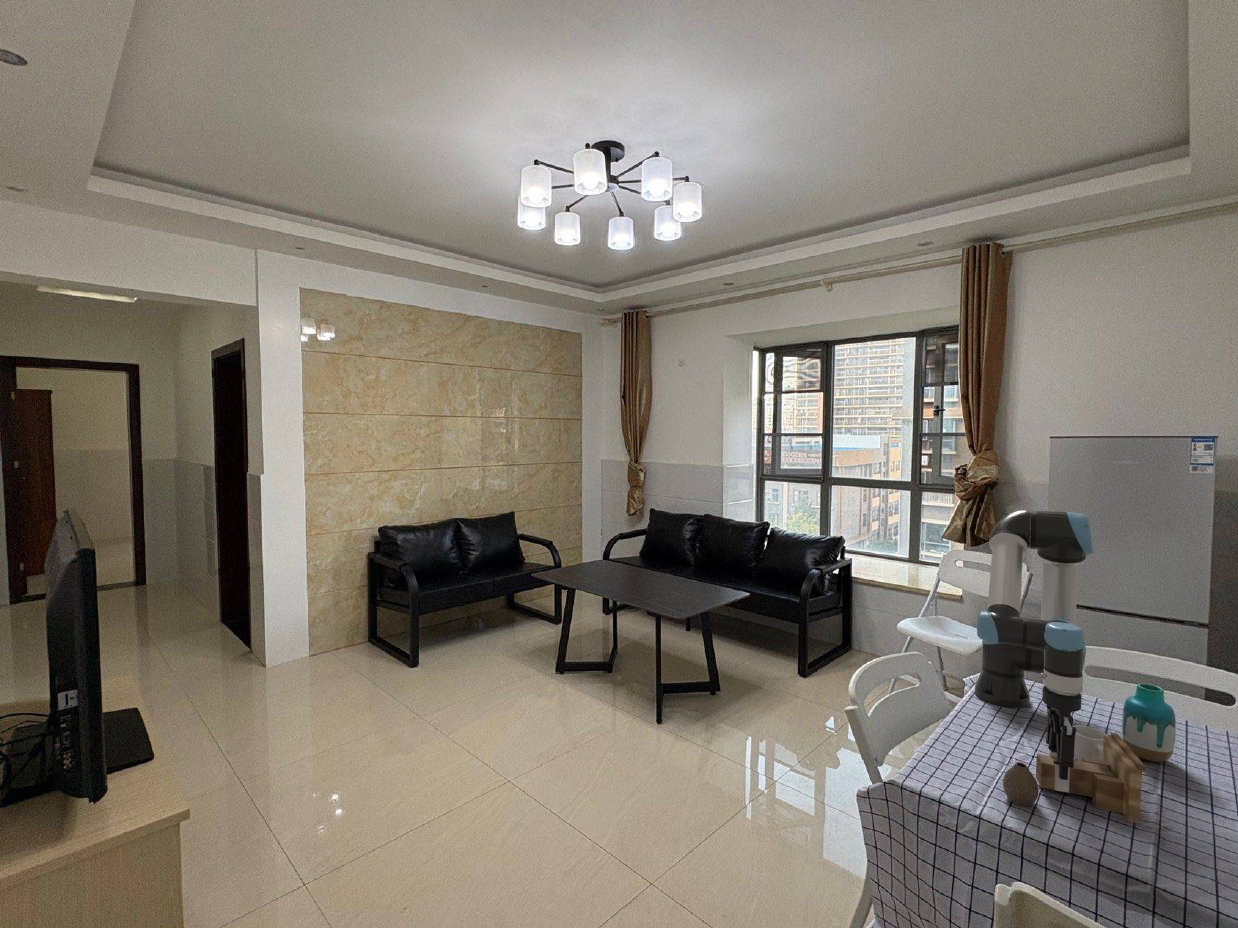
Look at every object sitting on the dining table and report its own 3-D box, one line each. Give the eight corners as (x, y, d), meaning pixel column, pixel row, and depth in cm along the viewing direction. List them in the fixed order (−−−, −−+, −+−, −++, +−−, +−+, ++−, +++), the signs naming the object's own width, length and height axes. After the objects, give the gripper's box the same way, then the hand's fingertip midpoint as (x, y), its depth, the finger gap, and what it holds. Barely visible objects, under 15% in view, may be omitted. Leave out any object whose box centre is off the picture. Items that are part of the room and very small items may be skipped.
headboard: (1077, 778, 150) (1079, 727, 149) (1114, 785, 147) (1117, 733, 147) (1100, 815, 135) (1103, 759, 135) (1143, 824, 132) (1145, 766, 132)
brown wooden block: (1040, 787, 144) (1041, 762, 144) (1035, 777, 148) (1036, 753, 148) (1113, 800, 139) (1114, 775, 139) (1105, 789, 143) (1106, 765, 143)
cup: (1121, 778, 150) (1123, 746, 150) (1085, 774, 152) (1086, 743, 151) (1096, 755, 161) (1098, 726, 160) (1063, 752, 162) (1064, 723, 162)
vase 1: (1011, 808, 138) (1012, 771, 137) (996, 791, 144) (998, 755, 144) (1044, 811, 137) (1045, 774, 136) (1028, 793, 143) (1029, 757, 143)
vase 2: (1169, 754, 161) (1172, 684, 161) (1178, 773, 153) (1181, 699, 152) (1118, 743, 167) (1121, 675, 166) (1123, 760, 158) (1127, 689, 158)
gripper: (1033, 673, 153) (1030, 763, 154) (1054, 701, 137) (1050, 801, 138) (1069, 678, 150) (1065, 769, 151) (1094, 707, 134) (1089, 809, 135)
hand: (1058, 784), depth 145 cm, fingers closed on brown wooden block, 4 cm apart
